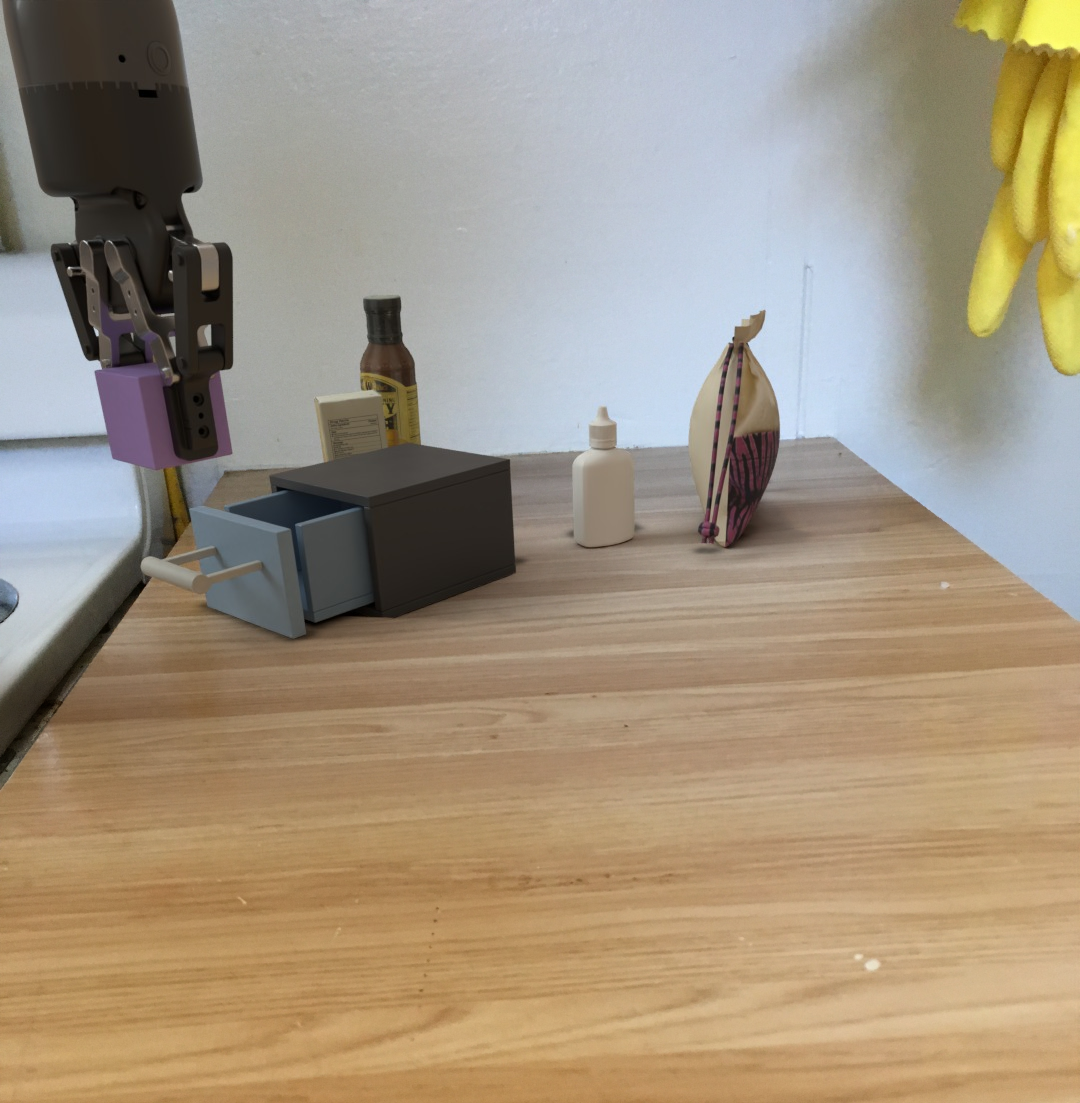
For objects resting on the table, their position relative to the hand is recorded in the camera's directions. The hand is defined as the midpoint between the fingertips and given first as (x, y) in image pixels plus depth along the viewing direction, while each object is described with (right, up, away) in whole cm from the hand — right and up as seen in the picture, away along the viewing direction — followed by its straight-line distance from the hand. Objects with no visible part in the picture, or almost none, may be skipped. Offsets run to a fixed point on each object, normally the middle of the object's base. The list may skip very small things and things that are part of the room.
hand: (171, 449), depth 57 cm
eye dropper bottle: (+26, +2, +41) cm, 48 cm away
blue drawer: (+1, -6, +25) cm, 26 cm away
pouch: (+38, +4, +44) cm, 58 cm away
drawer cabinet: (+8, -3, +32) cm, 33 cm away
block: (0, 0, 0) cm, 0 cm away
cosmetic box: (+2, +6, +51) cm, 52 cm away
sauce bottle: (+3, +13, +66) cm, 67 cm away
